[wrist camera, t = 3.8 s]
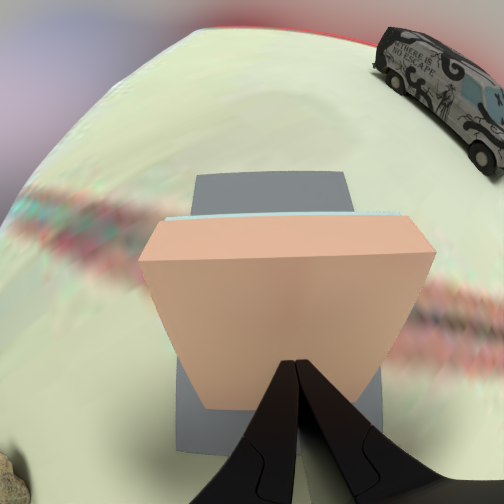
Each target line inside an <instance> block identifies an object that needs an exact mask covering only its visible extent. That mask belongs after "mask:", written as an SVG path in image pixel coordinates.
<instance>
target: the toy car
mask: <svg viewBox="0 0 504 504" xmlns="http://www.w3.org/2000/svg"><path fill="white" fill-rule="evenodd" d="M372 64H373V68H374V69H375V67H376V68H377V70H378V71H380V72H381V73H382V74H387V75H386V80H385V81H386V84H387V85H388V86H389V87H390V88H392V89H393V90H394V91H395V92H397V93H398V94H400V95H405V94H406V92H409V93H410V94H411V95H413V96H414V97H415V98H417V99H418V100H419V101H420V102H422V103H423V104H424V105H425V106H427V107H428V108H429V109H430V110H432V111H433V112H434V113H435V114H436V115H438V116H439V117H440V118H441V119H442V120H443V121H444V122H446V123H447V124H448V125H449V126H450V127H451V128H452V129H453V130H454V131H455V132H456V133H457V134H459V135H460V136H461V137H462V138H463V139H464V140H465V141H466V142H467V143H468V144H469V145H470V144H472V143H474V144H473V145H472V146H471V147H470V150H469V153H468V154H469V159H470V160H471V161H472V162H473V164H474V165H475V166H476V168H477V169H478V170H479V171H480V172H482V173H483V174H484V175H490V174H491V173H492V172H493V171H494V169H495V167H496V164H497V170H496V171H495V173H496V175H497V176H498V177H500V176H502V175H503V174H504V89H503V88H502V87H501V86H500V85H499V84H498V83H497V82H496V81H495V80H494V79H493V78H492V77H491V76H489V75H488V74H487V73H486V72H485V71H484V70H483V69H482V68H480V67H479V66H477V65H476V64H474V63H473V62H472V61H470V60H469V59H467V58H466V57H464V56H463V55H462V54H460V53H458V52H457V51H455V50H454V49H452V48H450V47H448V46H447V45H445V44H443V43H441V42H440V41H438V40H436V39H434V38H432V37H430V36H428V35H426V34H424V33H420V32H415V31H411V30H407V29H402V28H395V27H388V29H387V30H386V32H385V33H384V35H383V37H382V38H381V40H380V42H379V44H378V46H377V51H376V60H375V63H372Z"/></svg>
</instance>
